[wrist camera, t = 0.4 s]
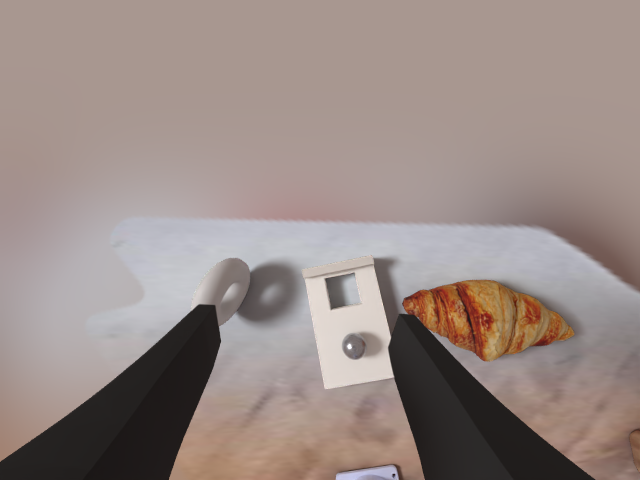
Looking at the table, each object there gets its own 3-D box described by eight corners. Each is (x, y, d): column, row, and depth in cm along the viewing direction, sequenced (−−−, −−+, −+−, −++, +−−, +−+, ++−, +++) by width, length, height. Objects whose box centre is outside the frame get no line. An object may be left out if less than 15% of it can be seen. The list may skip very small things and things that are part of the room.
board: (396, 369, 33) (402, 380, 30) (326, 381, 34) (324, 393, 30) (369, 257, 36) (372, 255, 33) (305, 271, 37) (301, 269, 33)
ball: (368, 353, 32) (370, 360, 29) (344, 357, 32) (344, 365, 29) (362, 328, 32) (364, 333, 29) (339, 332, 33) (339, 338, 29)
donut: (243, 257, 38) (209, 249, 29) (262, 266, 38) (233, 260, 28) (216, 316, 37) (170, 328, 27) (235, 326, 37) (195, 341, 27)
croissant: (537, 304, 36) (583, 278, 30) (569, 379, 30) (635, 367, 24) (395, 285, 38) (409, 257, 32) (397, 351, 32) (416, 333, 26)
